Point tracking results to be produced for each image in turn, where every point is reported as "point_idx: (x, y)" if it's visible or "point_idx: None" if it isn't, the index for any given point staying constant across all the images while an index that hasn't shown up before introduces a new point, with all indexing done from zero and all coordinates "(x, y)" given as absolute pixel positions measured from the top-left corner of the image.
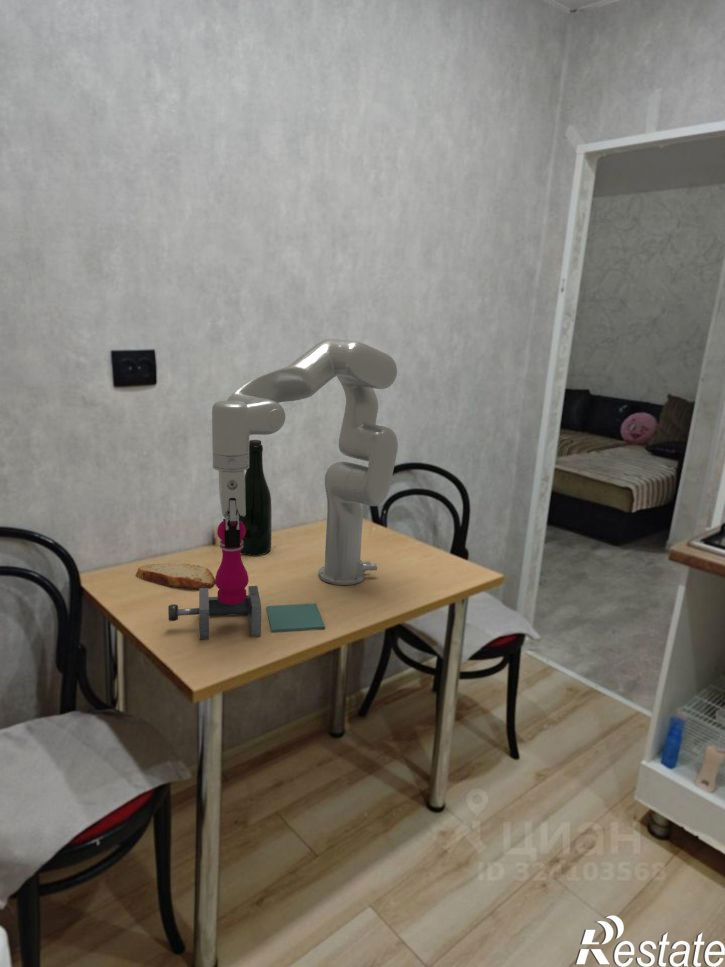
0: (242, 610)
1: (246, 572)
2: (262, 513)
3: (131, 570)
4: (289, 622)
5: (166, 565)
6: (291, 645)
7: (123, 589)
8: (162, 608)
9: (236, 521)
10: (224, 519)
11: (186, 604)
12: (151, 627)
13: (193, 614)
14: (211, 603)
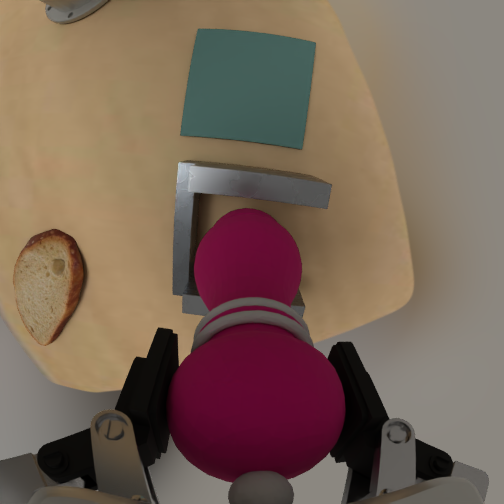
0: (198, 194)
1: (265, 233)
2: None
3: (36, 342)
4: (278, 102)
5: (22, 306)
6: (362, 129)
7: (91, 363)
8: (153, 330)
9: (450, 472)
10: (157, 456)
11: (139, 293)
12: None
13: None
14: (190, 268)
